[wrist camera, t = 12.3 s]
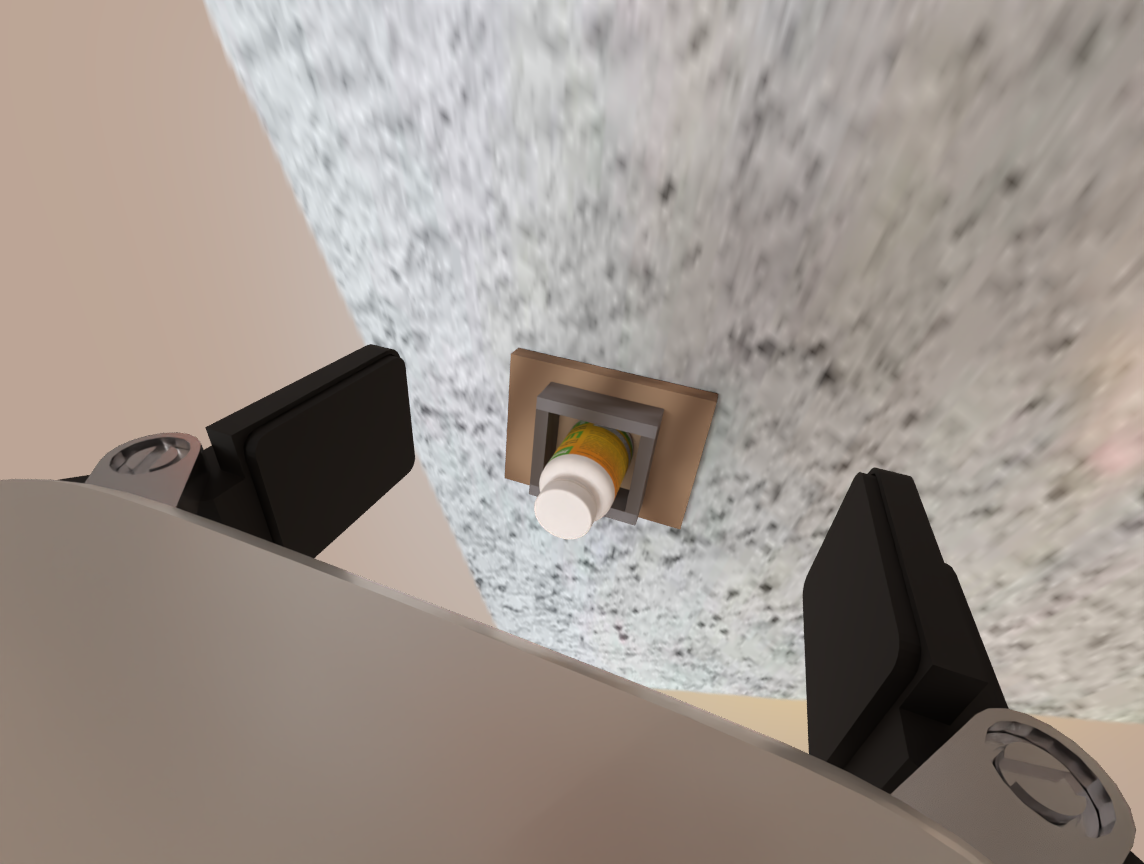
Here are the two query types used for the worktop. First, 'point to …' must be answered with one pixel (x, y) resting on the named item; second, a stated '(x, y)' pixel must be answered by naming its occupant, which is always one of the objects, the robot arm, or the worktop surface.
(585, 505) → the supplement bottle
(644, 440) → the collar board
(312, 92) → the worktop surface
